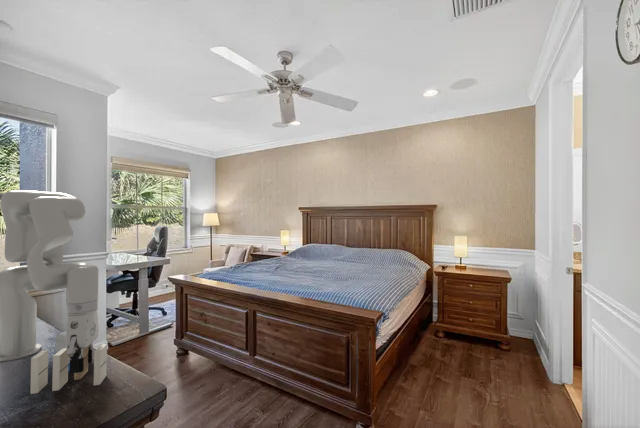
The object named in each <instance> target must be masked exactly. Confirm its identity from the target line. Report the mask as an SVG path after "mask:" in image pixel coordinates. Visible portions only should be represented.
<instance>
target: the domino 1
mask: <svg viewBox="0 0 640 428" xmlns="http://www.w3.org/2000/svg"><path fill="white" fill-rule="evenodd" d="M48 377H49V349H46V350H45V349H44V350H40V351H38V352H37V353H35V355H33V356H32V357H31V358H30V390H29V391H30V393H29V394H30V395H32V394H34V395H35V394H38V393H40V391H42V389H43V388H45V387H46V386H47V385H48V384H49V382H48V381H49V380H48V379H49V378H48Z"/></svg>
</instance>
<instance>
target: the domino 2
mask: <svg viewBox="0 0 640 428" xmlns="http://www.w3.org/2000/svg"><path fill="white" fill-rule="evenodd" d="M67 351H68V350H67V349H66V348H63V349H61V350H60V351H59V352H57V353H56V354H55V353H54V354H53V355H52V380H51V381H52V383H51V385H52V386H51V387H52V388H51V390H52V391H51V392H54V391H55V392H56V391H60V390H61V389H62V388H63V387H64V386H65V385H66V384H67V383H68V382H69V371H68V355H67Z"/></svg>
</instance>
